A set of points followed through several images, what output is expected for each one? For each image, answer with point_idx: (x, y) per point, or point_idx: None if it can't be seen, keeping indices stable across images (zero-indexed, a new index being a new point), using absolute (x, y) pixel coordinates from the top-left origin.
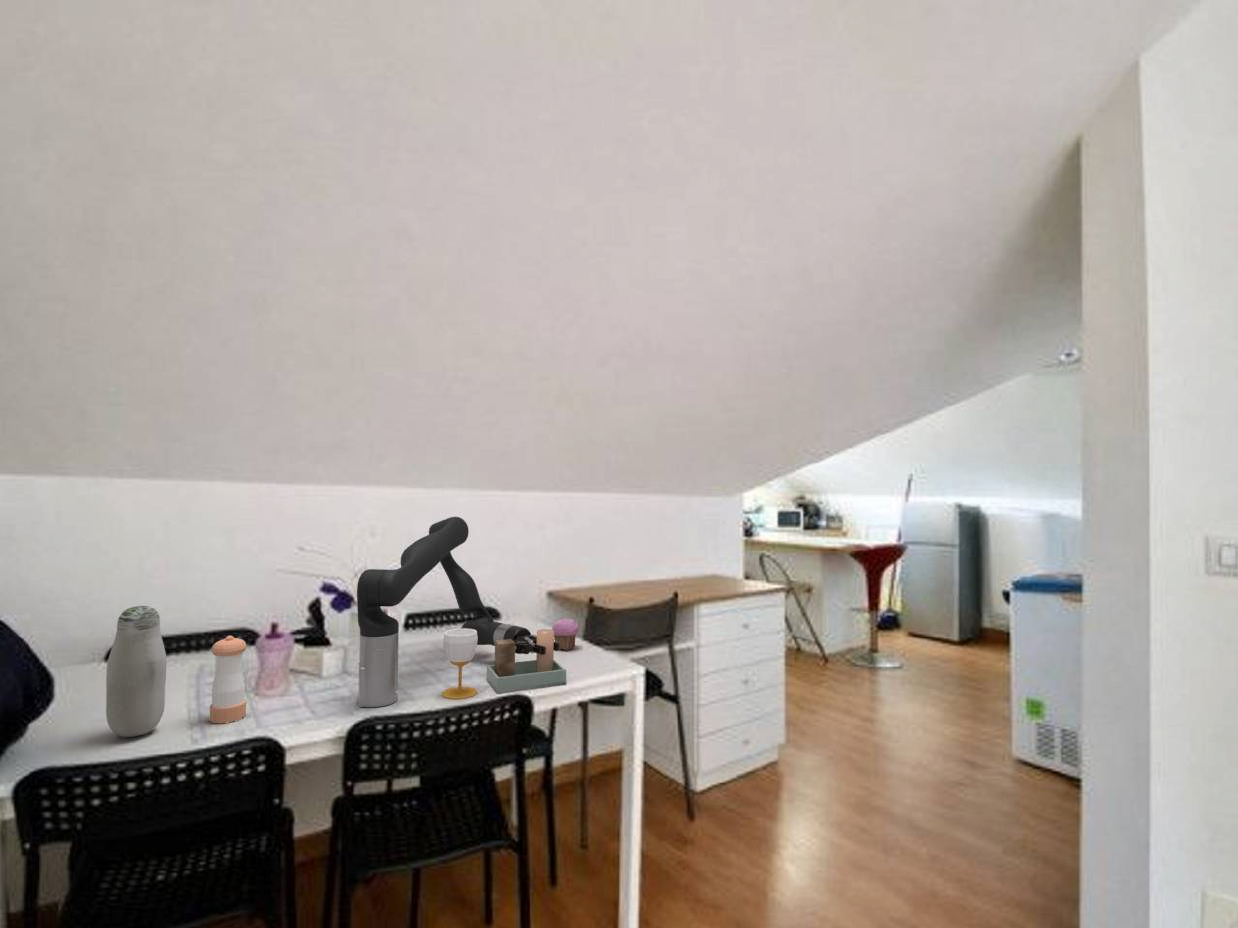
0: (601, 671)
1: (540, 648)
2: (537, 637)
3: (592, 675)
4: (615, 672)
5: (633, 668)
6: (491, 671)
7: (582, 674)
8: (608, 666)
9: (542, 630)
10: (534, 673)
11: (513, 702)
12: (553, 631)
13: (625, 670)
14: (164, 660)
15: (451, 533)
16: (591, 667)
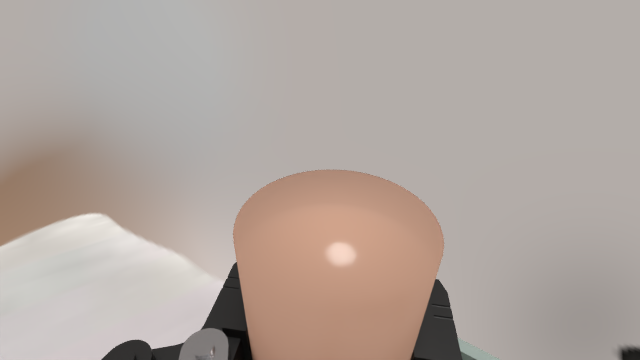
0: (100, 287)
1: (441, 285)
2: (427, 302)
3: (167, 288)
4: (110, 246)
5: (50, 225)
6: None
7: (162, 328)
8: (12, 298)
9: (328, 260)
10: (484, 355)
11: (635, 353)
12: (295, 176)
13: (79, 233)
14: None
15: None
16: (25, 354)
